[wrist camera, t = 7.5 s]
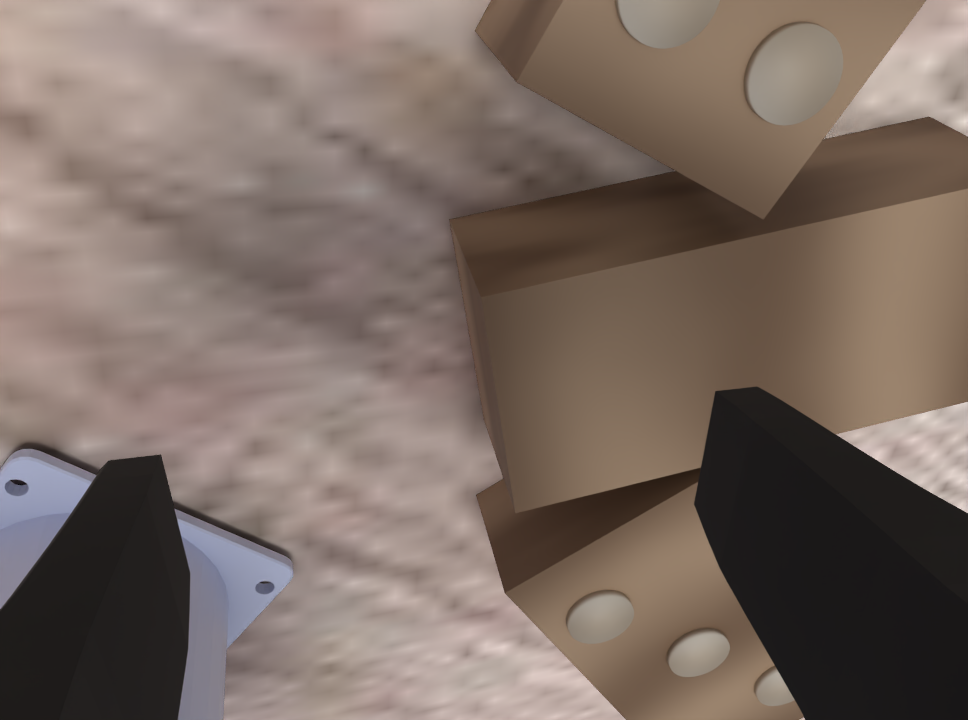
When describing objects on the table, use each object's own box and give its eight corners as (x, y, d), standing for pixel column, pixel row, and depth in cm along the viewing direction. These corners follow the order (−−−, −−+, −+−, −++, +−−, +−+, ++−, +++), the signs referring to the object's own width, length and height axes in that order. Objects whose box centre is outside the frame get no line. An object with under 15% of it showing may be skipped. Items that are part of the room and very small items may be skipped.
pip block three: (474, 488, 26) (506, 600, 22) (654, 380, 25) (717, 479, 21) (644, 681, 32) (689, 789, 29) (789, 601, 32) (854, 703, 28)
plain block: (481, 413, 24) (515, 513, 21) (447, 214, 21) (480, 297, 17) (890, 316, 25) (983, 397, 22) (922, 112, 22) (1036, 172, 19)
